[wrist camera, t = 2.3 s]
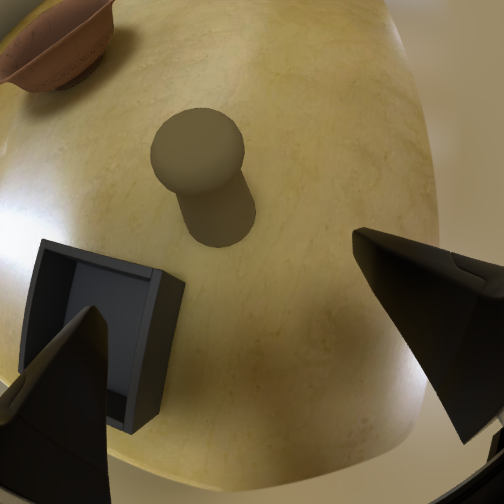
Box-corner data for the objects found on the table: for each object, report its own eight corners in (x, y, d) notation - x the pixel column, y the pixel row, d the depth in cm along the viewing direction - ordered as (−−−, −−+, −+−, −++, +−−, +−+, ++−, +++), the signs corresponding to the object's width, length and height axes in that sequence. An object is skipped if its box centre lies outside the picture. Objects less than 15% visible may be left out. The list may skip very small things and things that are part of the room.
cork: (242, 257, 23) (224, 200, 12) (174, 235, 24) (115, 171, 13) (265, 191, 24) (266, 102, 14) (200, 173, 25) (166, 87, 14)
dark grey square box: (185, 282, 23) (163, 270, 17) (159, 413, 20) (131, 435, 15) (77, 254, 24) (41, 238, 18) (56, 367, 21) (17, 372, 15)
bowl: (115, 20, 34) (98, -22, 24) (165, 52, 30) (145, -11, 19) (19, 90, 32) (-9, 56, 21) (32, 152, 27) (-16, 108, 17)
